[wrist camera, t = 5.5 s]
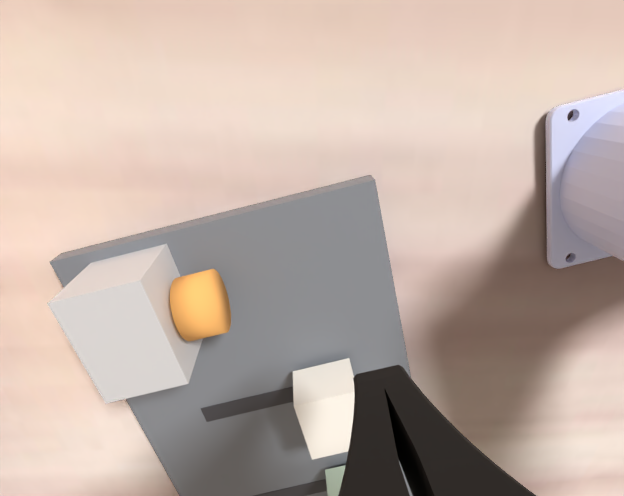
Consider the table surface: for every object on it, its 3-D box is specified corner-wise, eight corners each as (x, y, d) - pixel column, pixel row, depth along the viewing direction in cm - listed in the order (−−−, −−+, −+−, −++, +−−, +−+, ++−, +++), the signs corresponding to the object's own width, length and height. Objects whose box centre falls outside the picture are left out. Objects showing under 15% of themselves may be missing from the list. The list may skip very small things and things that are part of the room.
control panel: (370, 174, 18) (395, 202, 14) (427, 479, 27) (454, 555, 22) (61, 253, 19) (-4, 303, 15) (209, 529, 27) (195, 612, 23)
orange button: (214, 258, 18) (202, 287, 15) (234, 310, 19) (226, 345, 16) (180, 267, 18) (163, 297, 15) (201, 318, 19) (188, 355, 17)
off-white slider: (349, 358, 21) (357, 391, 18) (362, 409, 22) (370, 446, 20) (292, 371, 21) (293, 406, 18) (309, 421, 22) (312, 459, 20)
